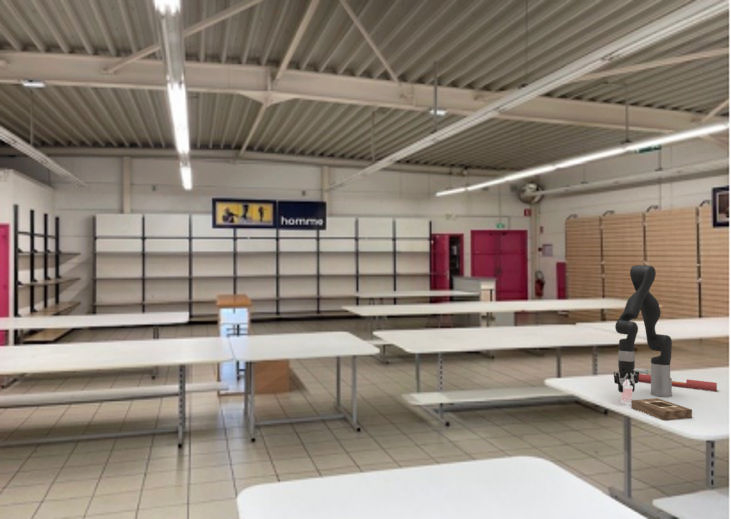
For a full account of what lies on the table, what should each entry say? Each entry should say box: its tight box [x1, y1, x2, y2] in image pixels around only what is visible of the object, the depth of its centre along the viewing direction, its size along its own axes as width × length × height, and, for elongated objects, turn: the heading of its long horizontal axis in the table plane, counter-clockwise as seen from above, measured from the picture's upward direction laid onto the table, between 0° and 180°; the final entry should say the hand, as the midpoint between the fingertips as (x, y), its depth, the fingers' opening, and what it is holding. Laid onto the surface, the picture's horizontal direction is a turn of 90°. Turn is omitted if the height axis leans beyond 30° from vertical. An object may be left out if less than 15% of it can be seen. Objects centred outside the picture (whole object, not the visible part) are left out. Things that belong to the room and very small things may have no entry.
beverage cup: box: [620, 379, 633, 405], centre depth 263 cm, size 6×6×14 cm
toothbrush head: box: [634, 367, 651, 375], centre depth 328 cm, size 5×7×25 cm
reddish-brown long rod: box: [638, 373, 718, 392], centre depth 301 cm, size 42×5×5 cm, turn 55°
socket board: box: [630, 397, 693, 421], centre depth 246 cm, size 16×20×4 cm
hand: (626, 391), depth 263 cm, fingers closed on beverage cup, 6 cm apart
